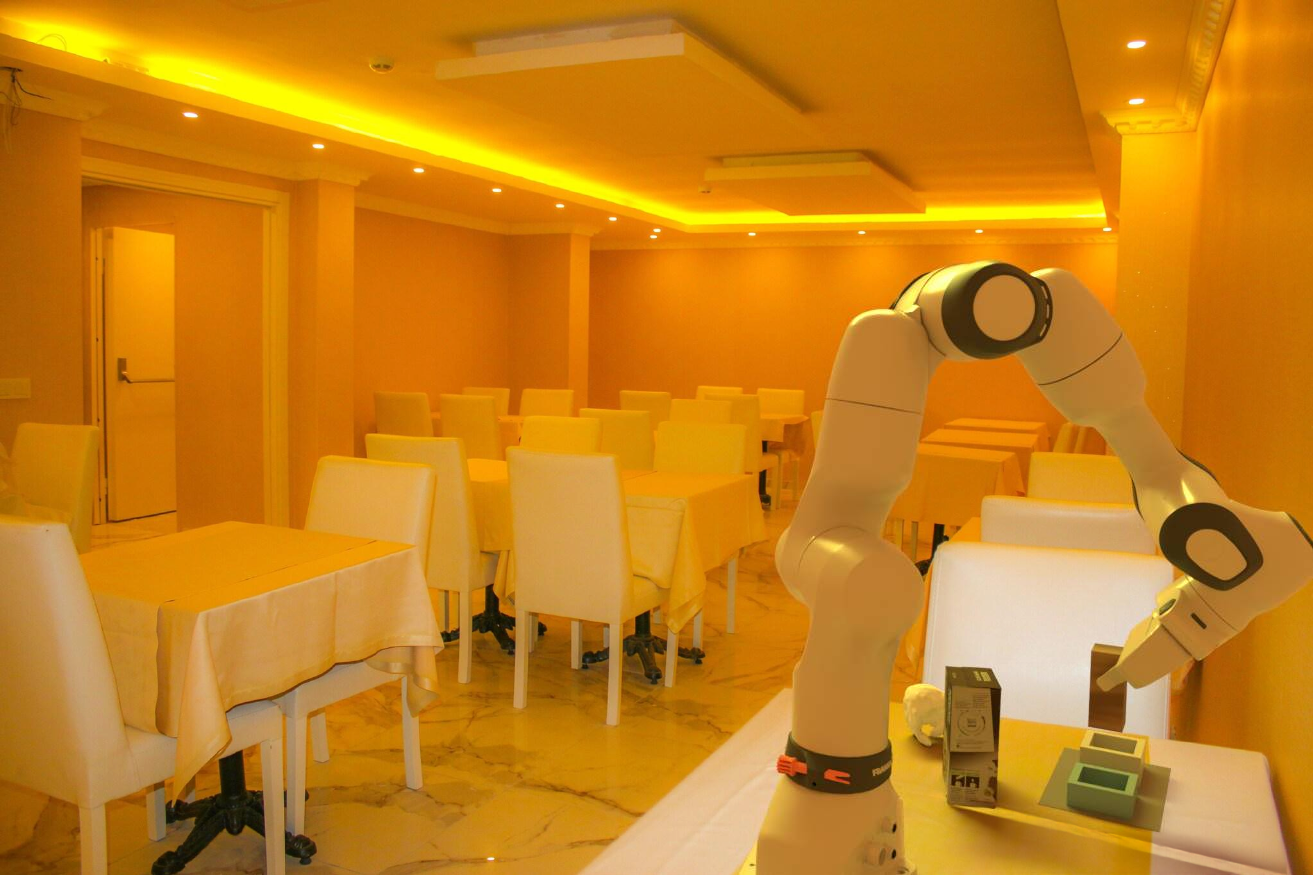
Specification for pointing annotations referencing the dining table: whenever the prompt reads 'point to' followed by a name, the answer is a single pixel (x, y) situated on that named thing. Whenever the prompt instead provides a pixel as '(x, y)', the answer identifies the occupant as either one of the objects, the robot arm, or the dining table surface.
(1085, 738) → the caddy
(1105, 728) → the plug
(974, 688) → the coffee box
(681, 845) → the dining table surface
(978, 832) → the dining table surface
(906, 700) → the white lumpy rounded piece
